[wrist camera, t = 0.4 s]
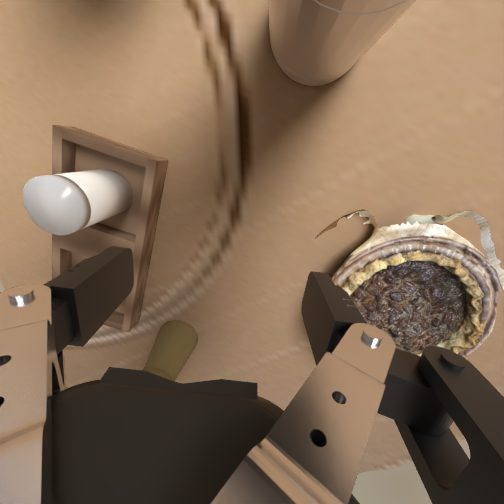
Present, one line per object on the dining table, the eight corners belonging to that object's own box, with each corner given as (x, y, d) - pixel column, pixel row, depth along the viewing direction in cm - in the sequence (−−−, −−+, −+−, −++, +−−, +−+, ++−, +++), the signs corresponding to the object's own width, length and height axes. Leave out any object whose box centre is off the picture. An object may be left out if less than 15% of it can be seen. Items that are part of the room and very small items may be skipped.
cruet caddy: (74, 127, 28) (52, 124, 25) (168, 160, 28) (156, 161, 26) (68, 296, 37) (52, 308, 34) (139, 318, 38) (128, 332, 35)
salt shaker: (91, 162, 28) (21, 167, 20) (135, 177, 29) (83, 187, 21) (89, 204, 30) (24, 224, 22) (130, 218, 31) (80, 242, 23)
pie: (522, 336, 34) (560, 365, 30) (335, 393, 42) (343, 423, 37) (469, 148, 26) (510, 149, 22) (250, 261, 34) (245, 279, 29)
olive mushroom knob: (158, 346, 40) (119, 414, 30) (161, 316, 37) (119, 378, 27) (195, 354, 40) (168, 425, 30) (200, 325, 37) (173, 390, 27)
